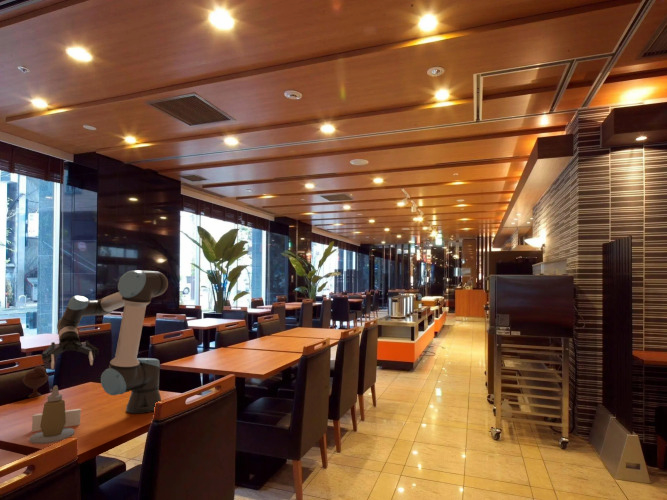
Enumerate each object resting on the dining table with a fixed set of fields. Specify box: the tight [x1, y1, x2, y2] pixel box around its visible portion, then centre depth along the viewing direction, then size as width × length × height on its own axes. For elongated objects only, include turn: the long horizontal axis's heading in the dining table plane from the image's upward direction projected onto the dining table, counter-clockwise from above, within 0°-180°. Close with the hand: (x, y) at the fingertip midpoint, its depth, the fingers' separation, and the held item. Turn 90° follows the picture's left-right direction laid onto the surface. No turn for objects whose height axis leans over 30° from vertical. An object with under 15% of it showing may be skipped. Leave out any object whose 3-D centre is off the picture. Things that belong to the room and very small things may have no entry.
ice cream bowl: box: [22, 365, 50, 398], centre depth 208 cm, size 11×11×15 cm
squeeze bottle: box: [40, 385, 66, 436], centre depth 153 cm, size 8×8×18 cm
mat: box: [29, 427, 75, 445], centre depth 152 cm, size 14×14×1 cm
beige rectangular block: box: [31, 408, 82, 432], centre depth 162 cm, size 16×2×6 cm, turn 118°
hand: (72, 364), depth 164 cm, fingers open, 13 cm apart
